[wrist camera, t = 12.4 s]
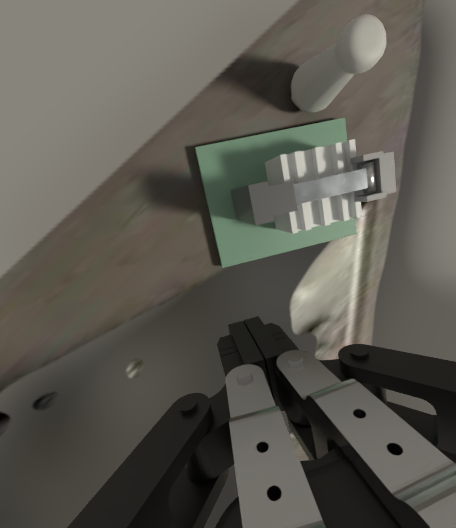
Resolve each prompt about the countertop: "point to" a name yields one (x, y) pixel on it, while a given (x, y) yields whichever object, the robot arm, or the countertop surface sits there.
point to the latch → (263, 202)
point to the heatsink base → (280, 171)
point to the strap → (337, 184)
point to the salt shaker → (338, 64)
